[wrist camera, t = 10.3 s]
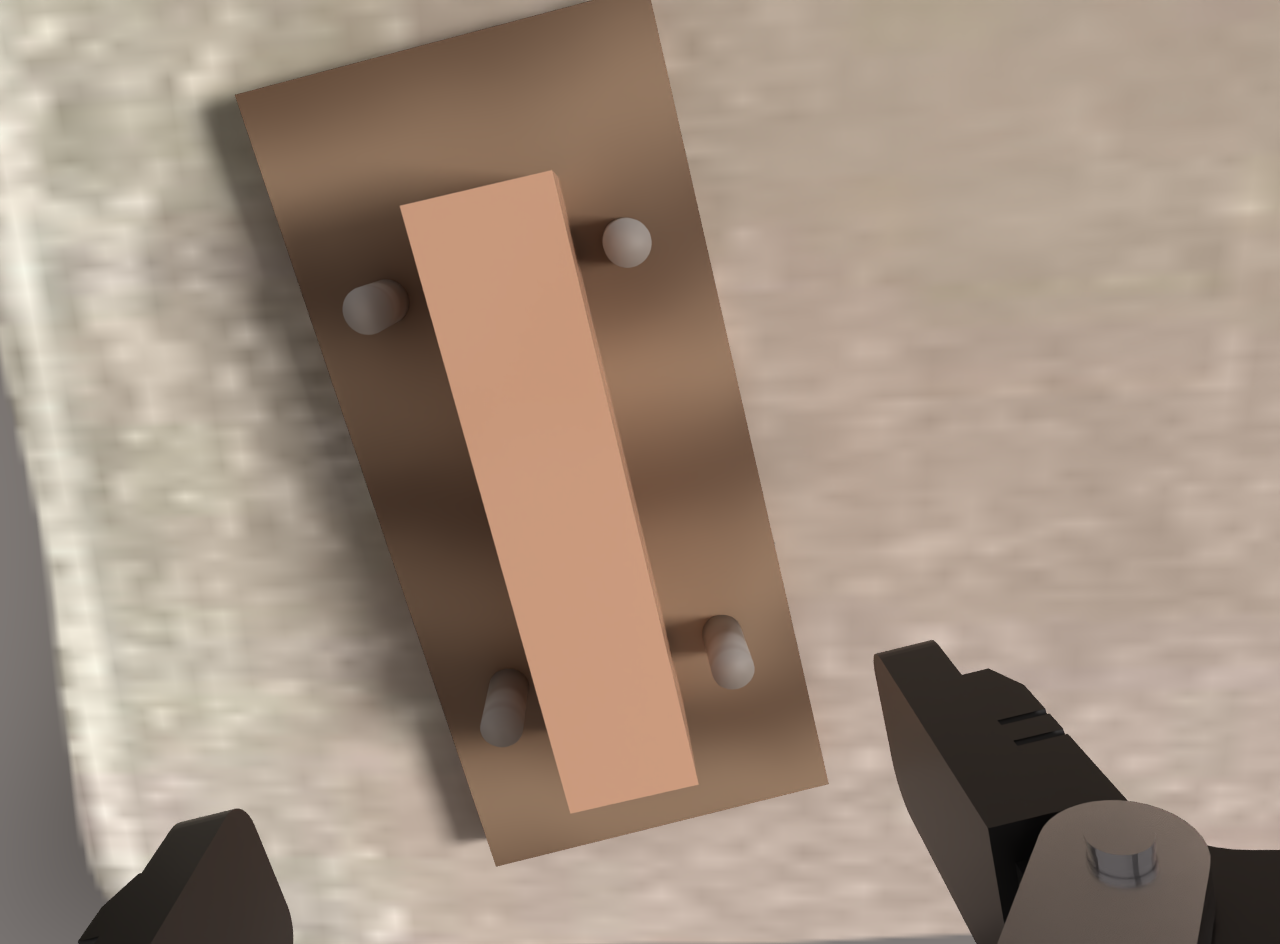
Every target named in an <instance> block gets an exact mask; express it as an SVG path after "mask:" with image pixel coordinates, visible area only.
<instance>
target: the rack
mask: <svg viewBox="0 0 1280 944" xmlns="http://www.w3.org/2000/svg"><path fill="white" fill-rule="evenodd" d="M235 97H236V100H237V103H238V106H239V109H240V112H241V115H242V118H243V121H244V124H245V127H246V130H247V133H248V135H249V138H250V141H251V144H252V147H253V150H254V153H255V156H256V159H257V162H258V165H259V168H260V171H261V174H262V177H263V180H264V183H265V186H266V189H267V192H268V195H269V197H270V200H271V203H272V206H273V209H274V212H275V215H276V218H277V221H278V224H279V227H280V230H281V233H282V236H283V239H284V242H285V245H286V248H287V251H288V254H289V257H290V259H291V262H292V265H293V268H294V271H295V274H296V277H297V280H298V283H299V286H300V289H301V292H302V295H303V298H304V301H305V304H306V307H307V310H308V313H309V316H310V319H311V321H312V324H313V327H314V330H315V333H316V336H317V339H318V342H319V345H320V348H321V351H322V354H323V357H324V360H325V363H326V366H327V369H328V372H329V375H330V378H331V381H332V383H333V386H334V389H335V392H336V395H337V398H338V401H339V404H340V407H341V410H342V413H343V416H344V419H345V422H346V425H347V428H348V431H349V434H350V437H351V440H352V443H353V445H354V448H355V451H356V454H357V457H358V460H359V463H360V466H361V469H362V472H363V475H364V478H365V481H366V484H367V487H368V490H369V493H370V496H371V499H372V502H373V505H374V507H375V510H376V513H377V516H378V519H379V522H380V525H381V528H382V531H383V534H384V537H385V540H386V543H387V546H388V549H389V552H390V555H391V558H392V561H393V564H394V567H395V569H396V572H397V575H398V578H399V581H400V584H401V587H402V590H403V593H404V596H405V599H406V602H407V605H408V608H409V611H410V614H411V617H412V620H413V623H414V626H415V629H416V631H417V634H418V637H419V640H420V643H421V646H422V649H423V652H424V655H425V658H426V661H427V664H428V667H429V670H430V673H431V676H432V679H433V682H434V685H435V688H436V691H437V693H438V696H439V699H440V702H441V705H442V708H443V711H444V714H445V717H446V720H447V723H448V726H449V729H450V732H451V735H452V738H453V741H454V744H455V747H456V750H457V753H458V755H459V758H460V761H461V764H462V767H463V770H464V773H465V776H466V779H467V782H468V785H469V788H470V791H471V794H472V797H473V800H474V803H475V806H476V809H477V812H478V815H479V817H480V820H481V823H482V826H483V829H484V832H485V835H486V838H487V841H488V844H489V847H490V850H491V853H492V856H493V859H494V862H495V865H496V866H500V865H504V864H508V863H512V862H517V861H521V860H525V859H529V858H533V857H537V856H541V855H545V854H549V853H553V852H557V851H561V850H565V849H569V848H573V847H577V846H581V845H585V844H589V843H593V842H597V841H601V840H605V839H609V838H613V837H617V836H621V835H625V834H629V833H633V832H637V831H641V830H645V829H649V828H653V827H657V826H661V825H665V824H669V823H673V822H678V821H682V820H686V819H690V818H694V817H698V816H702V815H706V814H710V813H714V812H718V811H722V810H726V809H730V808H734V807H738V806H742V805H746V804H750V803H754V802H758V801H762V800H766V799H770V798H774V797H778V796H782V795H786V794H790V793H794V792H798V791H802V790H806V789H810V788H814V787H818V786H822V785H826V784H829V783H828V779H827V775H826V770H825V766H824V761H823V757H822V753H821V748H820V744H819V739H818V735H817V730H816V726H815V722H814V717H813V713H812V708H811V704H810V700H809V695H808V691H807V686H806V682H805V678H804V673H803V669H802V664H801V660H800V656H799V651H798V647H797V642H796V638H795V634H794V629H793V625H792V620H791V616H790V611H789V607H788V603H787V598H786V594H785V589H784V585H783V581H782V576H781V572H780V567H779V563H778V559H777V554H776V550H775V545H774V541H773V537H772V532H771V528H770V523H769V519H768V515H767V510H766V506H765V501H764V497H763V492H762V488H761V484H760V479H759V475H758V470H757V466H756V462H755V457H754V453H753V448H752V444H751V440H750V435H749V431H748V426H747V422H746V418H745V413H744V409H743V404H742V400H741V396H740V391H739V387H738V382H737V378H736V373H735V369H734V365H733V360H732V356H731V351H730V347H729V343H728V338H727V334H726V329H725V325H724V321H723V316H722V312H721V307H720V303H719V299H718V294H717V290H716V285H715V281H714V277H713V272H712V268H711V263H710V259H709V254H708V250H707V246H706V241H705V237H704V232H703V228H702V224H701V219H700V215H699V210H698V206H697V202H696V197H695V193H694V188H693V184H692V180H691V175H690V171H689V166H688V162H687V158H686V153H685V149H684V144H683V140H682V135H681V131H680V127H679V122H678V118H677V113H676V109H675V105H674V100H673V96H672V91H671V87H670V83H669V78H668V74H667V69H666V65H665V61H664V56H663V52H662V47H661V43H660V39H659V34H658V30H657V25H656V21H655V16H654V12H653V8H652V3H651V0H592V1H588V2H585V3H581V4H577V5H573V6H570V7H566V8H562V9H558V10H554V11H551V12H547V13H543V14H539V15H535V16H532V17H528V18H524V19H520V20H517V21H513V22H509V23H505V24H501V25H498V26H494V27H490V28H486V29H482V30H479V31H475V32H471V33H467V34H464V35H460V36H456V37H452V38H448V39H445V40H441V41H437V42H433V43H429V44H426V45H422V46H418V47H414V48H411V49H407V50H403V51H399V52H395V53H392V54H388V55H384V56H380V57H376V58H373V59H369V60H365V61H361V62H358V63H354V64H350V65H346V66H342V67H339V68H335V69H331V70H327V71H323V72H320V73H316V74H312V75H308V76H305V77H301V78H297V79H293V80H289V81H286V82H282V83H278V84H274V85H270V86H267V87H263V88H259V89H255V90H252V91H248V92H244V93H240V94H236V95H235ZM550 170H552V171H553V172H554V173H555V174H556V175H557V176H558V177H559V181H560V185H561V190H562V194H563V198H564V202H565V207H566V211H567V215H568V219H569V223H570V228H571V232H572V236H573V240H574V244H575V249H576V253H577V257H578V261H579V265H580V270H581V274H582V278H583V282H584V287H585V291H586V295H587V299H588V303H589V308H590V312H591V316H592V320H593V324H594V329H595V333H596V337H597V341H598V345H599V350H600V354H601V358H602V362H603V366H604V371H605V375H606V379H607V383H608V388H609V392H610V396H611V400H612V404H613V409H614V413H615V417H616V421H617V425H618V430H619V434H620V438H621V442H622V446H623V451H624V455H625V459H626V463H627V467H628V472H629V476H630V480H631V484H632V489H633V493H634V497H635V501H636V505H637V510H638V514H639V518H640V522H641V526H642V531H643V535H644V539H645V543H646V547H647V552H648V556H649V560H650V564H651V568H652V573H653V577H654V581H655V585H656V590H657V594H658V598H659V602H660V606H661V611H662V615H663V619H664V623H665V627H666V632H667V636H668V640H669V644H670V648H671V653H672V657H673V661H674V665H675V669H676V674H677V678H678V682H679V686H680V691H681V695H682V699H683V703H684V709H685V714H686V719H687V725H688V730H689V735H690V741H691V746H692V751H693V757H694V762H695V767H696V773H697V778H698V784H699V785H695V786H690V787H686V788H681V789H677V790H673V791H668V792H664V793H659V794H655V795H651V796H646V797H642V798H637V799H633V800H629V801H624V802H620V803H615V804H611V805H607V806H602V807H598V808H593V809H589V810H585V811H580V812H576V813H571V814H570V811H569V807H568V803H567V800H566V796H565V793H564V789H563V786H562V782H561V778H560V775H559V771H558V768H557V764H556V761H555V757H554V754H553V750H552V746H551V743H550V739H549V736H548V732H547V729H546V725H545V722H544V718H543V714H542V711H541V707H540V704H539V700H538V697H537V693H536V690H535V686H534V682H533V679H532V675H531V672H530V668H529V665H528V661H527V658H526V654H525V650H524V647H523V643H522V640H521V636H520V633H519V629H518V625H517V622H516V618H515V615H514V611H513V608H512V604H511V601H510V597H509V593H508V590H507V586H506V583H505V579H504V576H503V572H502V569H501V565H500V561H499V558H498V554H497V551H496V547H495V544H494V540H493V537H492V533H491V529H490V526H489V522H488V519H487V515H486V512H485V508H484V504H483V501H482V497H481V494H480V490H479V487H478V483H477V480H476V476H475V472H474V469H473V465H472V462H471V458H470V455H469V451H468V448H467V444H466V440H465V437H464V433H463V430H462V426H461V423H460V419H459V416H458V412H457V408H456V405H455V401H454V398H453V394H452V391H451V387H450V383H449V380H448V376H447V373H446V369H445V366H444V362H443V359H442V355H441V351H440V348H439V344H438V341H437V337H436V334H435V330H434V327H433V323H432V319H431V316H430V312H429V309H428V305H427V302H426V298H425V295H424V291H423V287H422V284H421V280H420V277H419V273H418V270H417V266H416V262H415V259H414V255H413V252H412V248H411V245H410V241H409V238H408V234H407V230H406V227H405V223H404V220H403V216H402V213H401V209H400V206H401V205H405V204H410V203H414V202H418V201H422V200H427V199H431V198H435V197H439V196H444V195H448V194H452V193H456V192H461V191H465V190H469V189H473V188H478V187H482V186H486V185H490V184H495V183H499V182H503V181H507V180H512V179H516V178H520V177H524V176H529V175H533V174H537V173H541V172H546V171H550Z"/></svg>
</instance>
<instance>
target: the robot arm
mask: <svg viewBox="0 0 1280 944" xmlns="http://www.w3.org/2000/svg"><path fill="white" fill-rule="evenodd" d="M874 669H875V675H876V680H877V686H878V691H879V696H880V701H881V706H882V711H883V716H884V721H885V726H886V731H887V736H888V741H889V746H890V751H891V756H892V761H893V766H894V770H895V774H896V778H897V781H898V785H899V788H900V791H901V794H902V797H903V800H904V802H905V805H906V808H907V810H908V812H909V814H910V817H911V819H912V821H913V822H914V824H915V826H916V828H917V830H918V832H919V834H920V836H921V838H922V840H923V842H924V844H925V846H926V847H927V849H928V851H929V853H930V855H931V857H932V859H933V861H934V863H935V865H936V867H937V869H938V871H939V873H940V874H941V876H942V878H943V880H944V882H945V884H946V886H947V888H948V890H949V892H950V894H951V896H952V898H953V899H954V901H955V903H956V905H957V907H958V909H959V911H960V913H961V915H962V917H963V919H964V921H965V923H966V924H967V926H968V928H969V930H970V932H971V934H972V936H973V938H974V940H975V942H976V943H977V944H1280V850H1233V849H1225V848H1217V847H1212V846H1207V844H1206V842H1205V841H1204V839H1203V837H1202V836H1201V835H1200V834H1199V833H1198V832H1197V830H1196V829H1195V828H1193V827H1192V826H1191V825H1190V824H1188V823H1187V822H1186V821H1185V820H1183V819H1181V818H1179V817H1178V816H1176V815H1174V814H1172V813H1170V812H1168V811H1165V810H1163V809H1161V808H1157V807H1154V806H1151V805H1148V804H1143V803H1138V802H1132V801H1127V799H1126V798H1125V797H1124V796H1123V795H1122V794H1121V793H1120V792H1119V791H1118V789H1117V788H1116V787H1115V786H1114V785H1113V784H1112V783H1111V782H1110V780H1109V779H1108V778H1107V777H1106V776H1105V775H1104V774H1103V773H1102V772H1101V770H1100V769H1099V768H1098V767H1097V766H1096V765H1095V764H1094V763H1093V762H1092V760H1091V759H1090V758H1089V757H1088V756H1087V755H1086V754H1085V753H1084V751H1083V750H1082V749H1081V748H1080V747H1079V746H1078V745H1077V744H1076V743H1075V741H1074V740H1073V739H1072V738H1071V737H1070V736H1069V735H1068V734H1065V733H1064V731H1063V728H1062V727H1061V726H1060V725H1059V724H1058V722H1057V721H1056V720H1055V719H1054V718H1053V717H1052V716H1051V715H1050V714H1047V713H1046V710H1045V708H1044V707H1043V706H1042V705H1041V703H1040V702H1039V701H1038V700H1037V699H1036V698H1035V697H1034V696H1033V695H1032V693H1031V692H1030V691H1029V690H1028V689H1027V688H1026V687H1025V686H1024V685H1023V684H1021V683H1019V682H1017V681H1014V680H1012V679H1010V678H1008V677H1006V676H1004V675H1001V674H999V673H997V672H995V671H993V670H991V669H984V670H980V671H976V672H972V673H968V674H964V675H961V673H960V672H959V671H958V670H957V668H956V667H955V666H954V664H953V663H952V662H951V661H950V659H949V658H948V657H947V655H946V654H945V653H944V652H943V650H942V649H941V648H940V647H939V645H938V644H937V643H936V642H935V641H934V640H930V641H926V642H922V643H918V644H914V645H910V646H906V647H901V648H897V649H893V650H889V651H885V652H881V653H877V654H875V655H874ZM78 943H79V944H293V927H292V920H291V916H290V912H289V909H288V906H287V904H286V901H285V899H284V896H283V894H282V891H281V889H280V886H279V884H278V881H277V879H276V877H275V874H274V872H273V869H272V867H271V864H270V862H269V859H268V857H267V855H266V852H265V850H264V847H263V845H262V842H261V840H260V837H259V835H258V833H257V830H256V828H255V825H254V823H253V821H252V819H251V818H250V816H249V815H248V814H247V813H246V812H245V811H243V810H241V809H232V810H228V811H224V812H220V813H216V814H212V815H208V816H204V817H200V818H196V819H192V820H188V821H183V822H180V823H177V824H176V825H175V826H173V828H172V829H171V830H170V832H169V833H168V835H167V836H166V838H165V839H164V841H163V842H162V844H161V845H160V847H159V848H158V850H157V851H156V852H155V854H154V855H153V857H152V858H151V860H150V861H149V863H148V864H147V866H146V867H145V869H144V870H143V872H142V873H140V874H138V875H137V876H136V877H135V878H133V879H132V880H131V881H130V882H129V883H128V884H127V885H126V886H125V887H123V888H122V889H121V890H120V891H119V892H118V893H117V894H116V895H115V896H114V897H112V898H111V899H110V900H109V901H108V902H107V903H106V904H105V905H104V906H103V907H102V908H101V909H100V911H99V912H98V913H97V915H96V916H95V918H94V919H93V920H92V922H91V923H90V925H89V926H88V928H87V929H86V931H85V932H84V934H83V935H82V936H81V938H80V939H79V941H78Z"/></svg>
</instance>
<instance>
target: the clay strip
mask: <svg viewBox="0 0 1280 944" xmlns="http://www.w3.org/2000/svg"><path fill="white" fill-rule="evenodd" d="M400 209H401V213H402V216H403V220H404V223H405V227H406V230H407V234H408V238H409V241H410V245H411V248H412V252H413V255H414V259H415V262H416V266H417V270H418V273H419V277H420V280H421V284H422V287H423V291H424V295H425V298H426V302H427V305H428V309H429V312H430V316H431V319H432V323H433V327H434V330H435V334H436V337H437V341H438V344H439V348H440V351H441V355H442V359H443V362H444V366H445V369H446V373H447V376H448V380H449V383H450V387H451V391H452V394H453V398H454V401H455V405H456V408H457V412H458V416H459V419H460V423H461V426H462V430H463V433H464V437H465V440H466V444H467V448H468V451H469V455H470V458H471V462H472V465H473V469H474V472H475V476H476V480H477V483H478V487H479V490H480V494H481V497H482V501H483V504H484V508H485V512H486V515H487V519H488V522H489V526H490V529H491V533H492V537H493V540H494V544H495V547H496V551H497V554H498V558H499V561H500V565H501V569H502V572H503V576H504V579H505V583H506V586H507V590H508V593H509V597H510V601H511V604H512V608H513V611H514V615H515V618H516V622H517V625H518V629H519V633H520V636H521V640H522V643H523V647H524V650H525V654H526V658H527V661H528V665H529V668H530V672H531V675H532V679H533V682H534V686H535V690H536V693H537V697H538V700H539V704H540V707H541V711H542V714H543V718H544V722H545V725H546V729H547V732H548V736H549V739H550V743H551V746H552V750H553V754H554V757H555V761H556V764H557V768H558V771H559V775H560V778H561V782H562V786H563V789H564V793H565V796H566V800H567V803H568V807H569V811H570V814H571V813H576V812H580V811H585V810H589V809H593V808H598V807H602V806H607V805H611V804H615V803H620V802H624V801H629V800H633V799H637V798H642V797H646V796H651V795H655V794H659V793H664V792H668V791H673V790H677V789H681V788H686V787H690V786H695V785H699V784H698V778H697V773H696V767H695V762H694V757H693V751H692V746H691V741H690V735H689V730H688V725H687V719H686V714H685V709H684V703H683V699H682V695H681V691H680V686H679V682H678V678H677V674H676V669H675V665H674V661H673V657H672V653H671V648H670V644H669V640H668V636H667V632H666V627H665V623H664V619H663V615H662V611H661V606H660V602H659V598H658V594H657V590H656V585H655V581H654V577H653V573H652V568H651V564H650V560H649V556H648V552H647V547H646V543H645V539H644V535H643V531H642V526H641V522H640V518H639V514H638V510H637V505H636V501H635V497H634V493H633V489H632V484H631V480H630V476H629V472H628V467H627V463H626V459H625V455H624V451H623V446H622V442H621V438H620V434H619V430H618V425H617V421H616V417H615V413H614V409H613V404H612V400H611V396H610V392H609V388H608V383H607V379H606V375H605V371H604V366H603V362H602V358H601V354H600V350H599V345H598V341H597V337H596V333H595V329H594V324H593V320H592V316H591V312H590V308H589V303H588V299H587V295H586V291H585V287H584V282H583V278H582V274H581V270H580V265H579V261H578V257H577V253H576V249H575V244H574V240H573V236H572V232H571V228H570V223H569V219H568V215H567V211H566V207H565V202H564V198H563V194H562V190H561V185H560V181H559V177H558V176H557V175H556V174H555V173H554V172H553V171H552V170H550V171H546V172H541V173H537V174H533V175H529V176H524V177H520V178H516V179H512V180H507V181H503V182H499V183H495V184H490V185H486V186H482V187H478V188H473V189H469V190H465V191H461V192H456V193H452V194H448V195H444V196H439V197H435V198H431V199H427V200H422V201H418V202H414V203H410V204H405V205H401V206H400Z"/></svg>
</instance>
